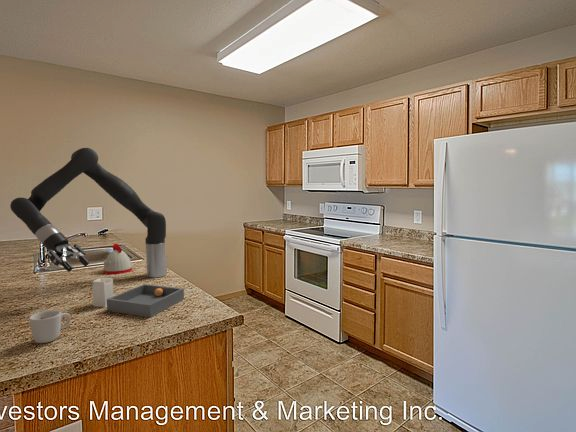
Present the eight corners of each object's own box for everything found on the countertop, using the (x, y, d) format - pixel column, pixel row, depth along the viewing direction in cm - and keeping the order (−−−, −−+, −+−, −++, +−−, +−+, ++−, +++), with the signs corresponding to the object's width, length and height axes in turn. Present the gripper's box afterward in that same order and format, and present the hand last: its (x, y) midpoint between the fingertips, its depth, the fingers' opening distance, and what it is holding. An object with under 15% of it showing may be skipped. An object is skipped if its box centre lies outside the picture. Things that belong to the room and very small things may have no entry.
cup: (65, 328, 113) (64, 305, 112) (76, 334, 108) (75, 310, 107) (26, 341, 104) (24, 316, 103) (37, 348, 99) (35, 322, 98)
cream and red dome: (123, 266, 195) (122, 240, 194) (137, 270, 187) (136, 243, 186) (98, 271, 184) (97, 244, 182) (111, 275, 176) (110, 247, 174)
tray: (144, 294, 147) (144, 284, 147) (184, 299, 141) (183, 288, 141) (107, 310, 128) (106, 299, 128) (150, 317, 122) (150, 305, 122)
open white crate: (93, 306, 133) (91, 281, 132) (102, 301, 138) (101, 277, 137) (105, 306, 132) (103, 282, 131) (114, 302, 137) (112, 278, 136)
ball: (158, 291, 144) (157, 285, 142) (164, 294, 143) (164, 288, 142) (152, 296, 141) (152, 290, 140) (159, 299, 141) (159, 293, 139)
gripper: (42, 234, 128) (71, 265, 127) (71, 229, 142) (97, 257, 141) (30, 248, 129) (59, 278, 128) (60, 241, 143) (86, 269, 143)
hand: (79, 267), depth 135 cm, fingers open, 8 cm apart
